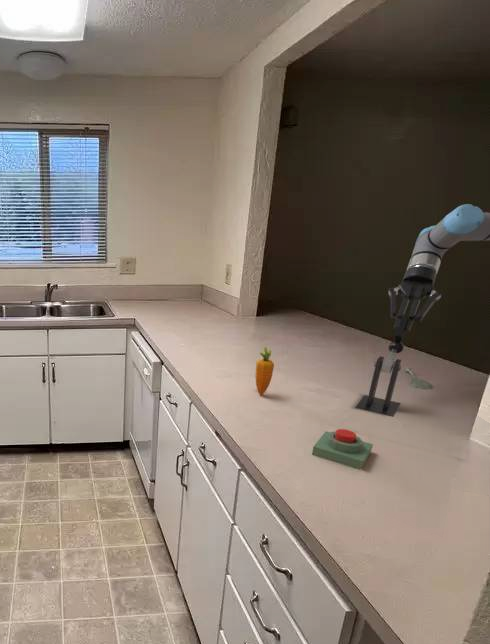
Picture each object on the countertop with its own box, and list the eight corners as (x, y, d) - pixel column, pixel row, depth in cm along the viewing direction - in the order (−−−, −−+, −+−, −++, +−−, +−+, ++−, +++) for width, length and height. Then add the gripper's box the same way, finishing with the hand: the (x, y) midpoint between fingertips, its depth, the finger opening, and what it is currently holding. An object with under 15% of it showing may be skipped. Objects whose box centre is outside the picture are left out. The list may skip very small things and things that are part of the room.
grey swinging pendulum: (389, 348, 127) (391, 337, 125) (403, 350, 125) (406, 339, 123) (377, 372, 120) (379, 362, 118) (393, 375, 118) (395, 364, 116)
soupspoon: (407, 393, 136) (432, 397, 133) (410, 383, 134) (436, 387, 132) (396, 370, 154) (418, 373, 151) (399, 361, 152) (421, 364, 150)
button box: (323, 439, 107) (326, 424, 106) (370, 452, 101) (374, 437, 99) (311, 454, 100) (314, 439, 99) (361, 470, 94) (365, 453, 92)
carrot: (268, 399, 131) (275, 351, 125) (250, 396, 133) (257, 349, 128) (270, 393, 135) (277, 347, 129) (253, 391, 137) (260, 345, 132)
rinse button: (337, 434, 102) (338, 427, 101) (356, 439, 99) (358, 432, 99) (332, 440, 99) (333, 433, 98) (352, 445, 96) (353, 438, 96)
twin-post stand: (363, 399, 130) (374, 351, 125) (399, 407, 124) (412, 357, 119) (354, 411, 122) (365, 361, 117) (392, 420, 116) (405, 368, 111)
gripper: (446, 282, 128) (425, 349, 122) (394, 279, 136) (371, 341, 130) (450, 266, 122) (427, 335, 117) (395, 263, 130) (371, 328, 125)
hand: (398, 338), depth 124 cm, fingers closed
